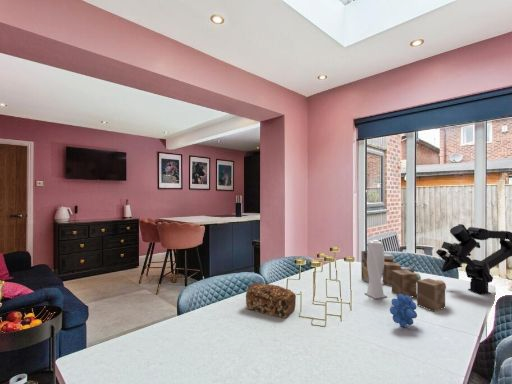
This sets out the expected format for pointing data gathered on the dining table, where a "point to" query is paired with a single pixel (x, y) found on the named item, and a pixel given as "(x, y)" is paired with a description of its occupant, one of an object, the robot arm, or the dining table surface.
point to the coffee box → (364, 266)
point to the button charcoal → (408, 268)
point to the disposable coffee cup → (388, 257)
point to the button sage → (418, 276)
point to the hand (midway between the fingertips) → (442, 271)
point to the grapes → (403, 310)
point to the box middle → (404, 282)
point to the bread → (270, 299)
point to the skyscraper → (375, 269)
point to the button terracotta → (441, 281)
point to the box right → (431, 294)
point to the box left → (389, 272)
